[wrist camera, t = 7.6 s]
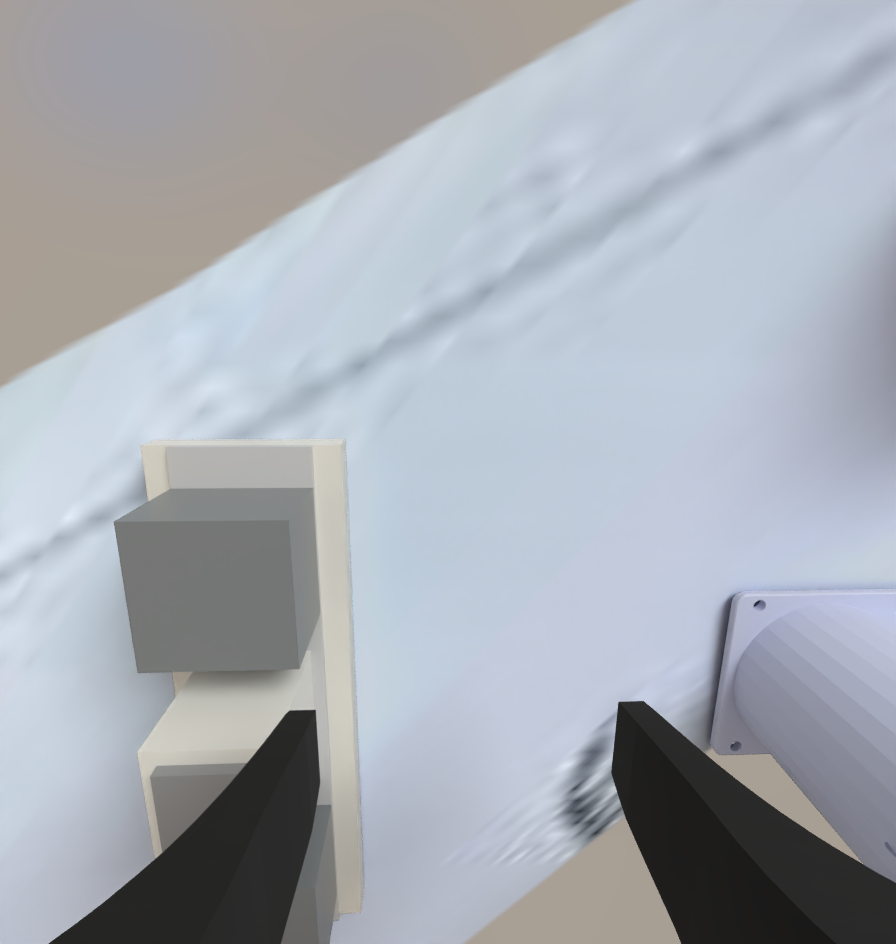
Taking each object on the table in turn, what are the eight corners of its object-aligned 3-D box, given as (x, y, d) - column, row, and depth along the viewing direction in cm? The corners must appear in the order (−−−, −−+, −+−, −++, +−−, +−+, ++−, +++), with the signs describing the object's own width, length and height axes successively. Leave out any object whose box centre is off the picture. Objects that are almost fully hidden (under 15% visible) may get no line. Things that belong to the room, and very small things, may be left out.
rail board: (345, 438, 20) (320, 470, 15) (364, 886, 25) (349, 1016, 20) (157, 439, 19) (69, 471, 15) (216, 892, 25) (166, 1025, 20)
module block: (310, 650, 20) (271, 758, 15) (319, 778, 22) (286, 916, 16) (205, 653, 20) (129, 763, 15) (221, 781, 22) (156, 922, 16)
